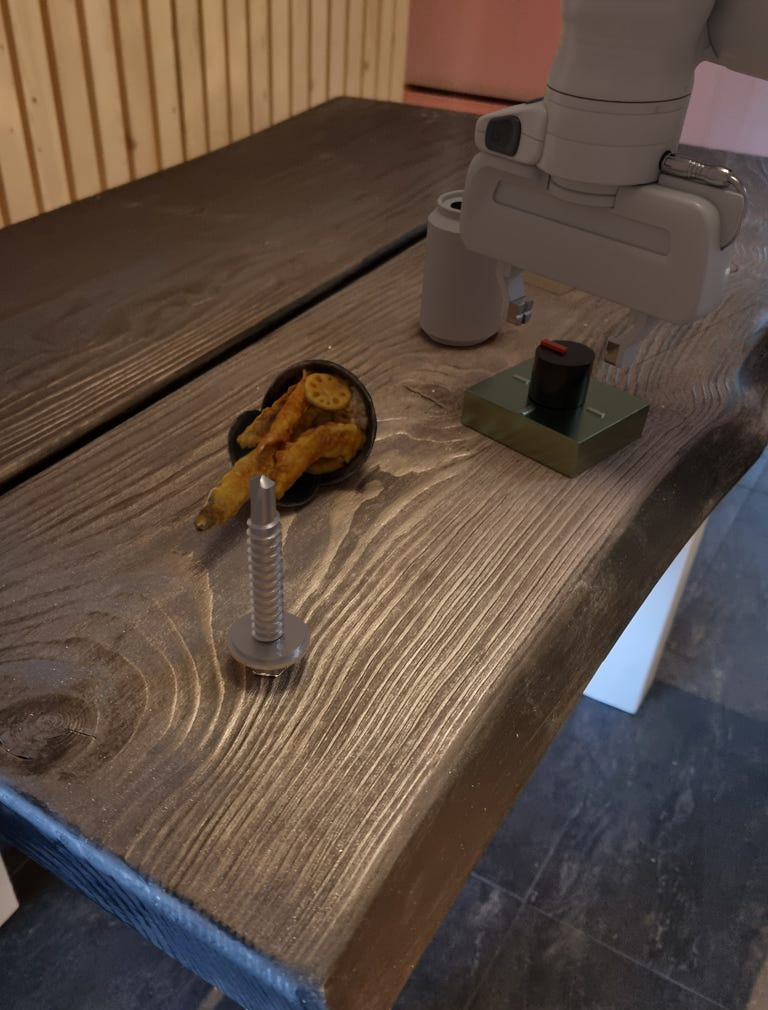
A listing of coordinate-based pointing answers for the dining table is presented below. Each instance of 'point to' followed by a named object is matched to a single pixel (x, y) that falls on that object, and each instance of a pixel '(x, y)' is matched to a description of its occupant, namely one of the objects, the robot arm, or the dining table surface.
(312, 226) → the dining table surface
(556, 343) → the timer knob
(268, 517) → the screw
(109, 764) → the dining table surface
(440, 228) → the can
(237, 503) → the fried shrimp in bowl
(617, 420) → the timer panel
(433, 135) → the dining table surface
